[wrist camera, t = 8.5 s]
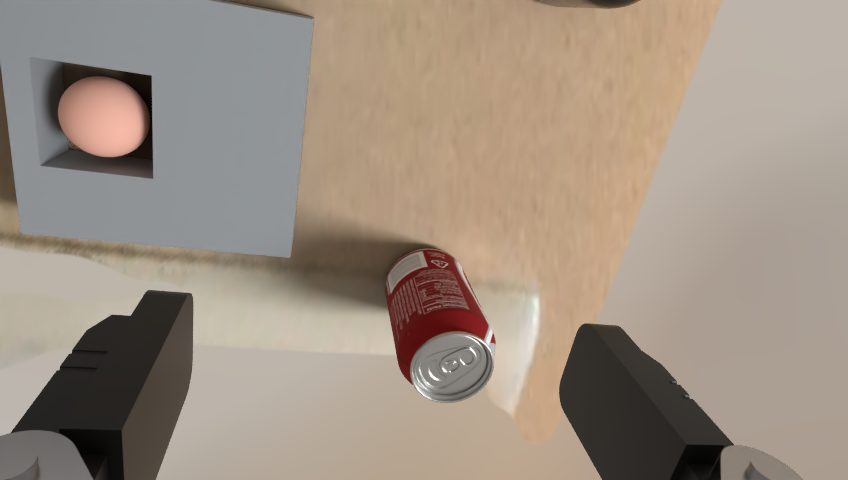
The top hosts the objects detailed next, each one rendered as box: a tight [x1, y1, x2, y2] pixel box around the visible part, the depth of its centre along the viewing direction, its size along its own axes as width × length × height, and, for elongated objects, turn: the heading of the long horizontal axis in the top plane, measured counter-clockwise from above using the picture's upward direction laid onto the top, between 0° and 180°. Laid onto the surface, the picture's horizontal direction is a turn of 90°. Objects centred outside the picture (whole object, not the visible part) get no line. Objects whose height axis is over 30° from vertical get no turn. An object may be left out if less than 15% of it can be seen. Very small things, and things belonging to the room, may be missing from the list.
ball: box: [58, 76, 150, 157], centre depth 34 cm, size 5×5×5 cm
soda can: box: [385, 249, 496, 403], centre depth 40 cm, size 7×7×12 cm
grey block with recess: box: [0, 0, 314, 258], centre depth 35 cm, size 16×17×4 cm
